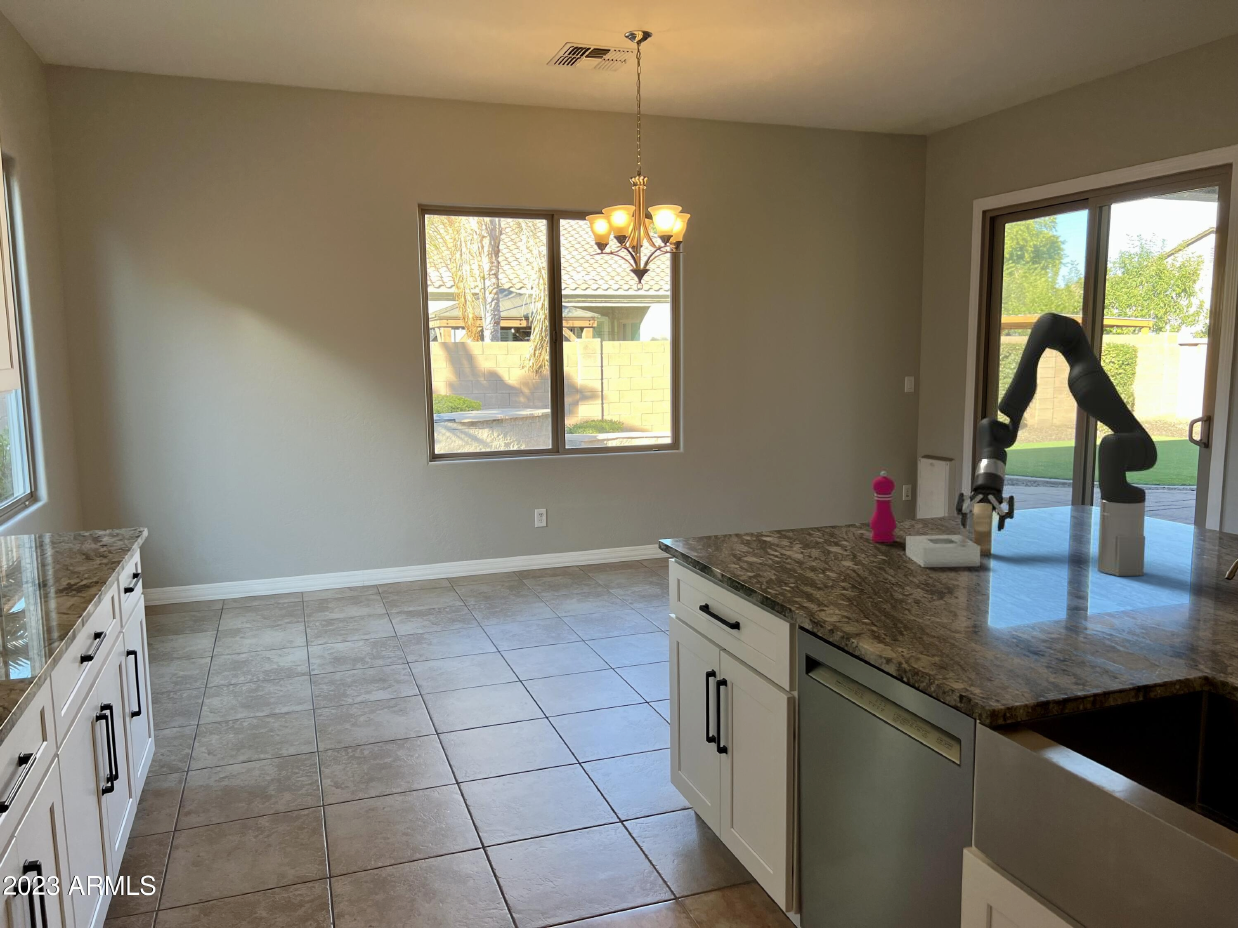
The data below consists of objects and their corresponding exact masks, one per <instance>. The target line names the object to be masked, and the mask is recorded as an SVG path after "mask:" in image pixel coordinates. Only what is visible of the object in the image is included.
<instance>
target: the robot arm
mask: <svg viewBox="0 0 1238 928" xmlns="http://www.w3.org/2000/svg"><path fill="white" fill-rule="evenodd" d="M1047 349H1049V350H1053V351H1056V352H1057V353H1060V354H1061V356H1063V358H1064V360H1065V361H1066V363H1067V365H1068V366H1069V367H1068V368H1069V371H1068V376H1067V387H1068V390H1069V392H1070V394H1071V396H1072V397H1073V399H1074V401H1075V403H1076V404H1077V406H1078V407H1079V408H1080V409H1081V410H1082V411H1083V412H1084V413H1085V414H1087V415H1088V416H1089V417H1091V418H1093V419H1094V420H1096V421H1097V422H1099V423H1101V424H1102V425H1104V426H1105V427H1107V428H1108V429H1109V430H1110V431H1111V432H1112V433H1107V434H1105V435H1104V436H1103V437H1101V440H1100V442H1099V445H1098V451H1097V464H1098V465H1097V467H1098V468H1097V470H1098V473H1097V474H1098V475H1097V477H1098V480H1097V481H1098V489H1099V492H1100V501H1099V502H1100V503H1099V504H1100V505H1099V522H1098V523H1099V527H1098V545H1097V546H1098V547H1097V548H1098V550H1097V552H1098V553H1097V570H1098V571H1099V572H1102V573H1104V574H1109V575H1114V576H1117V577H1124V576H1126V577H1127V576H1129V577H1131V576H1132V577H1133V576H1135V577H1136V576H1144V569H1145V553H1146V552H1145V549H1146V536H1145V534H1144V533H1145V517H1146V515H1145V514H1146V500H1147V499H1146V496H1147V494H1146V490H1145V489H1144V488H1142V487H1141V486H1140V487H1139V486H1136V485H1133V484H1131V483H1130V482H1129V481H1128V480H1127V473H1130V472H1131V473H1134V472H1144V471H1149V470H1151V469H1153V468H1154V467H1155V466H1156V464H1157V462H1158V450H1157V445H1156V443H1155V441H1154V439H1153V438H1152V436H1151V435H1150V433H1149V432H1148V431H1147V430H1146V429H1145V427H1144V426H1143V425H1142V423H1141V422H1140V421H1139V420H1138V419H1137V417H1136V416H1135V415H1134V413H1132V411H1131V409H1130V408H1129V407H1128V405H1127V403H1126V402H1125V401H1124V399H1123V397H1122V396H1121V394H1120V393H1119V392H1118V389H1117V388H1116V386H1115V384H1114V382H1113V381H1112V379H1111V378H1110V376H1109V374H1108V373H1107V371H1106V370H1105V369H1104V367H1103V366H1102V364H1101V362H1100V360H1099V358H1098V357H1097V355H1096V354H1095V352H1094V350H1093V348H1092V346H1091V344H1090V342H1089V340H1088V337H1087V335H1086V332H1085V329H1084V328H1083V326H1082V324H1081V323H1080V322H1079V321H1078V320H1077V319H1075V318H1074V317H1072V316H1071V317H1070V316H1067V315H1063V314H1059V313H1056V312H1051V311H1049V312H1045V313H1043V314H1041V315H1040V316H1039V317H1038V318H1037V319H1036V321H1035V322H1034V324H1033V326H1032V327H1031V329H1030V332H1029V335H1028V338H1027V340H1026V342H1025V346H1024V348H1023V351H1022V354H1021V357H1020V360H1019V363H1018V365H1017V367H1016V370H1015V372H1014V375H1013V377H1012V378H1011V379H1012V380H1011V382H1010V383H1009V385H1008V387H1007V389H1006V390H1005V392H1004V393H1003V396H1002V397H1001V399H1000V401H999V403H998V404H997V410H998V412H999V413H1001V414H1002V415H1004V416H1005V417H1007V418H1008V419H1009V420H1008V423H1007V422H1004V421H1001V420H999V419H996V418H993V417H986V418H984V419H982V420H981V421H980V422H979V424H978V426H977V429H976V439H977V444H978V445H977V446H978V450H979V458H978V464H977V467H976V469H975V475H974V480H973V481H974V482H973V487H972V493H970V495H969V494H968V495H967V494H965V493H964V492H960V493H959V494H958V497H957V502H956V506H955V514H956V515H957V516H961V518H960V526H961V527H962V528H963V529H964V530H966V529H967V527H968V521H969V516H970V515H974V504H977V503H985V504H991V505H992V512H994V513H995V515H996V516H998V520H997V521H998V522H997V532H1002V531H1003V530H1004V529H1005V526H1006V520H1007V519H1010V520H1013V519H1014V518H1015V505H1016V504H1015V503H1016V502H1015V496H1014V495H1009V496H1008V497H1006V496H1003V494H1004V488H1005V483H1006V466H1007V460H1008V452H1007V449H1010V448H1012V447H1013V446H1014V445H1015V443H1016V442H1017V439H1018V435H1019V430H1020V427H1021V423H1022V420H1023V417H1024V415H1025V412H1026V410H1027V409H1028V407H1029V406H1030V404H1031V403H1032V401H1033V398H1034V397H1035V394H1036V392H1037V386H1038V367H1039V363H1040V360H1041V359H1042V357H1043V355H1044V353H1045V352H1046V350H1047ZM968 501H970V502H969V503H967V502H968ZM966 503H967V505H966V506H965V507H964V504H966ZM1004 503H1005V505H1006V506H1007V507H1008V508H1007V511H1005V510H1004V509H1003V508H1002V506H1001V505H1002V504H1004Z"/></svg>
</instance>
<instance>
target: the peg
mask: <svg viewBox="0 0 1238 928" xmlns="http://www.w3.org/2000/svg"><path fill="white" fill-rule="evenodd" d="M992 518H993V511H992V505H991V504H985V503H977V504H974V513H973V526H972V527H973V531H972V535H973V537H972V542H973V543H975V544H977V545H978V546H980V556H987V555H989V556H990V555H991V553H992V522H993V520H992Z"/></svg>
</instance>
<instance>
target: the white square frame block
mask: <svg viewBox="0 0 1238 928" xmlns="http://www.w3.org/2000/svg"><path fill="white" fill-rule="evenodd" d="M905 555H906V556H907V557H908V558H910V559H911V560H913V561H914V562H915V563H916V564H918V565H919V566H920V567H922V568H952V567H953V568H956V567H957V568H959V567H980V565H981V564H980V563H981V555H980V546H978V545H977V544H975V543H973V541H971V540H969V539H968V538H965V537H963V536H962V535H961V534H945V535H943V534H941V535H940V534H939V535H907V536H905Z"/></svg>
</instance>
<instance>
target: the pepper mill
mask: <svg viewBox="0 0 1238 928" xmlns="http://www.w3.org/2000/svg"><path fill="white" fill-rule="evenodd" d="M879 475H880V476H879V477H876V478H875V479H874V480H873V482H872V489H873V491H874V499H875V508H874V509H875V510H874V512H873V515H872V517H871V519H870V523H869V527H870V530H872V532H873V533H871V541H872V540H873V541H872V542H875V543H882V542H888V543H893V542H894V541H895V534H894V532H895V530H896V529H897V522H896V519H895V517H894V514H893V511H892V507H891V506H892V505H891V504H892V500H893V496H894V495H893V493H892V492H893V491H894V489H895V486H896V485H895V481H894V480H893V479H892V478H890V477H888V474H887V472H886V471H881V472H880V474H879Z"/></svg>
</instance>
